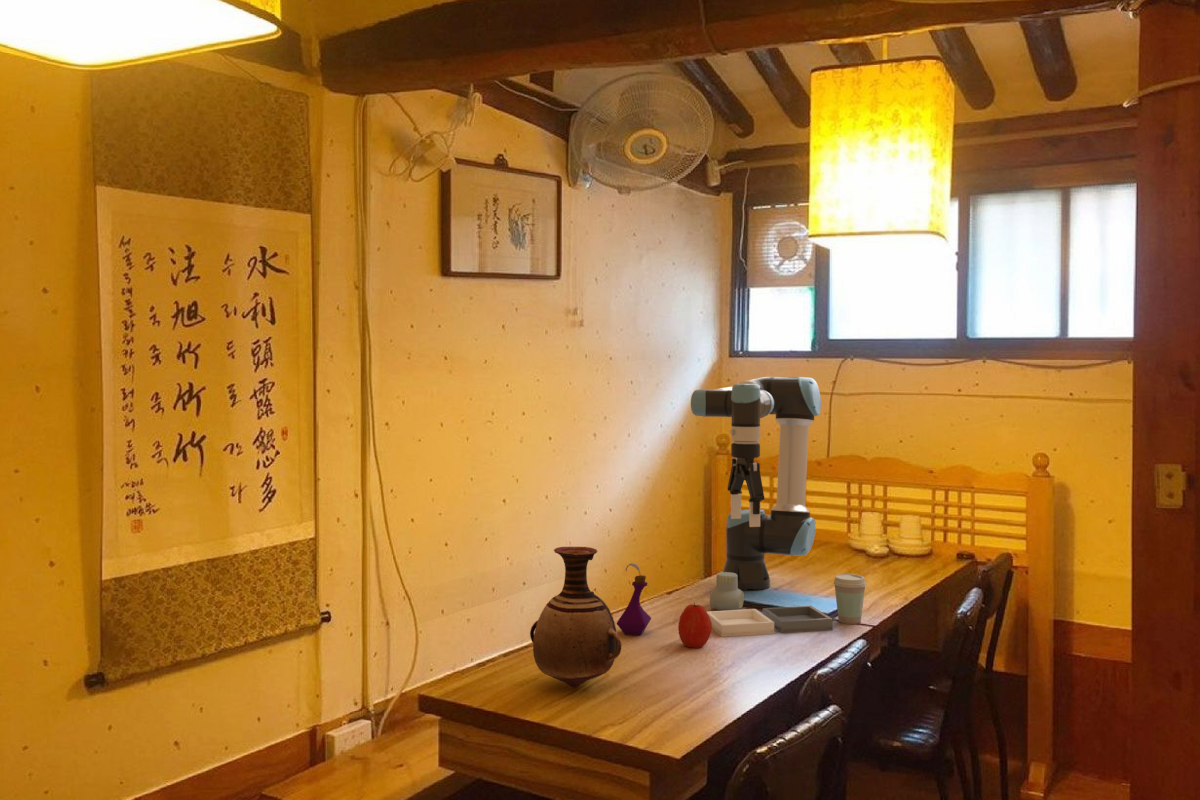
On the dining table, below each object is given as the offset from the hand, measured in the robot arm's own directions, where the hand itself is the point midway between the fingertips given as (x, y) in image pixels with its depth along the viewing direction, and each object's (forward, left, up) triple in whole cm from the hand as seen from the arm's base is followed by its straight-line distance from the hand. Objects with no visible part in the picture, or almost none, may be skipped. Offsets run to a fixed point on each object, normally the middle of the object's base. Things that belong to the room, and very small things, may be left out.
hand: (745, 522), depth 272 cm
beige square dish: (+4, -3, -27) cm, 27 cm away
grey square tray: (+4, +13, -27) cm, 30 cm away
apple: (+17, -19, -27) cm, 37 cm away
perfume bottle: (+3, -31, -27) cm, 41 cm away
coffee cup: (+4, +28, -27) cm, 39 cm away
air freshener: (-15, 0, -27) cm, 31 cm away
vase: (+41, -53, -27) cm, 72 cm away
